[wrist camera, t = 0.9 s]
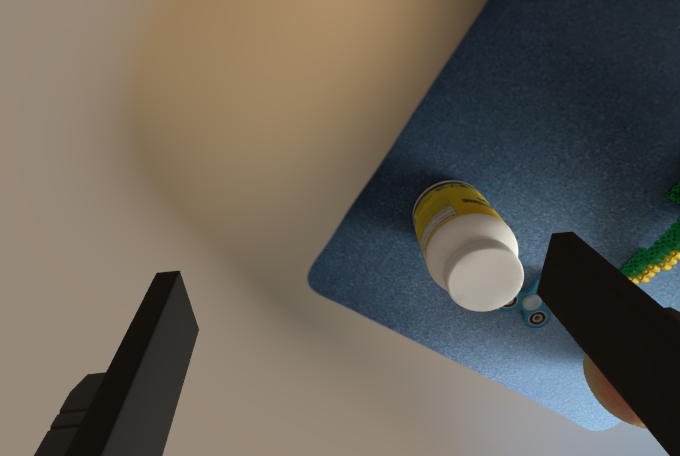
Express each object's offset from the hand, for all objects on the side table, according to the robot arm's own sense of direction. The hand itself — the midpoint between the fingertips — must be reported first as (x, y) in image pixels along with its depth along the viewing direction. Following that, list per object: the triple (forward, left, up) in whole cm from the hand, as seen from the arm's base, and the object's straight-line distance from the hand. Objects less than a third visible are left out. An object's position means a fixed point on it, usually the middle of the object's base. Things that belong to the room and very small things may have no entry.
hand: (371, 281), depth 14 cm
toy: (+17, +13, -20) cm, 29 cm away
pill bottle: (+7, +6, -20) cm, 22 cm away
